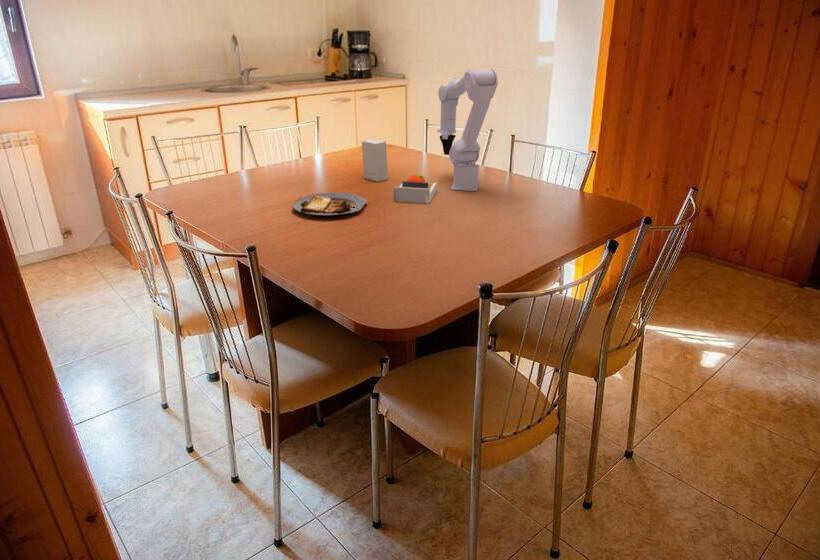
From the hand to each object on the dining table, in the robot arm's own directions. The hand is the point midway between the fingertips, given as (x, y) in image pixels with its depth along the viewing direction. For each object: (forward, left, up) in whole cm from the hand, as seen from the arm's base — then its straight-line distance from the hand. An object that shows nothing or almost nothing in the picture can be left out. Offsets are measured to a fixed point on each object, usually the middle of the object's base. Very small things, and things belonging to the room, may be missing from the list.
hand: (447, 154), depth 227 cm
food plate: (+32, +46, -10) cm, 57 cm away
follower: (+7, +27, -9) cm, 30 cm away
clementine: (+7, +23, -10) cm, 26 cm away
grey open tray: (+7, +26, -9) cm, 29 cm away
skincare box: (+27, +7, -10) cm, 29 cm away
